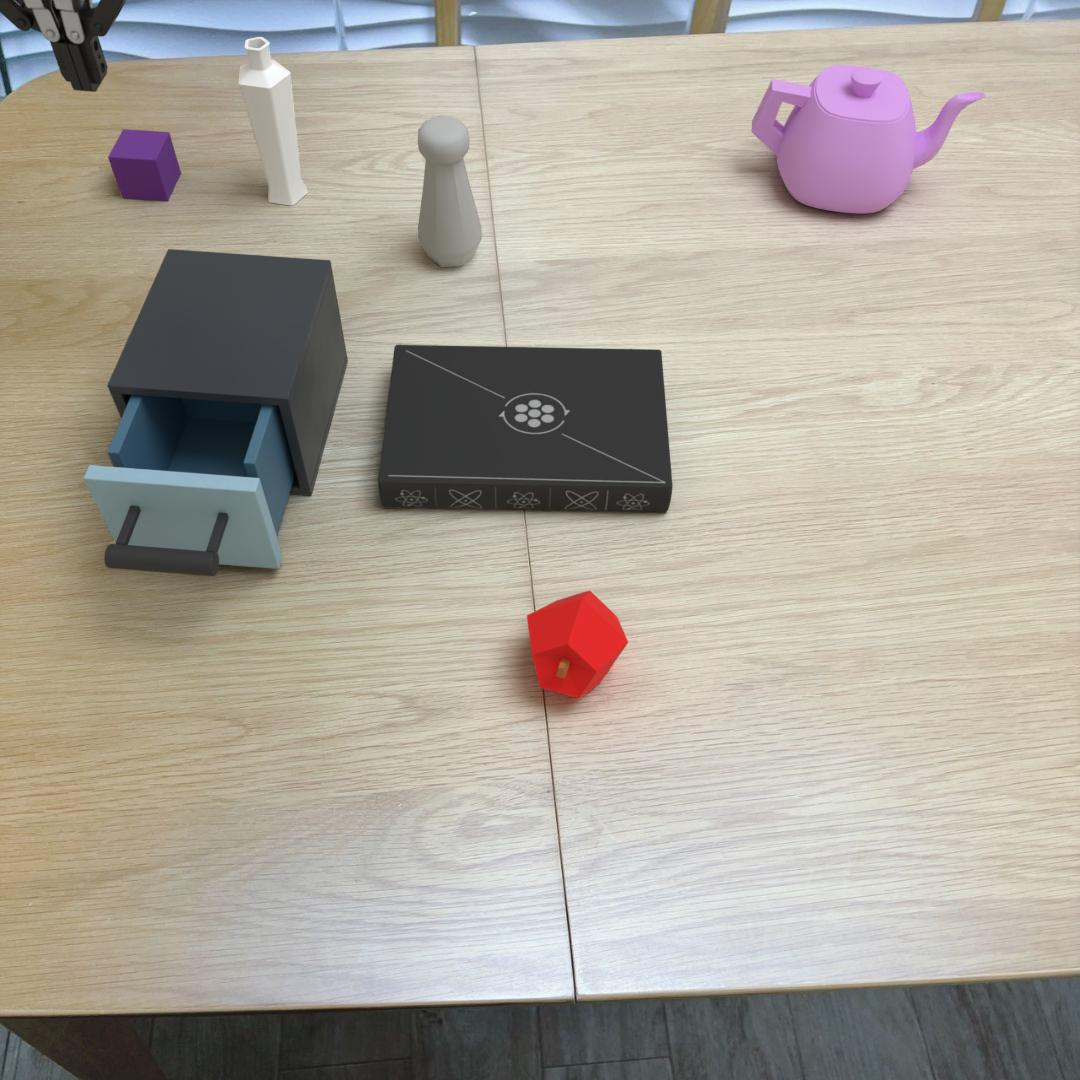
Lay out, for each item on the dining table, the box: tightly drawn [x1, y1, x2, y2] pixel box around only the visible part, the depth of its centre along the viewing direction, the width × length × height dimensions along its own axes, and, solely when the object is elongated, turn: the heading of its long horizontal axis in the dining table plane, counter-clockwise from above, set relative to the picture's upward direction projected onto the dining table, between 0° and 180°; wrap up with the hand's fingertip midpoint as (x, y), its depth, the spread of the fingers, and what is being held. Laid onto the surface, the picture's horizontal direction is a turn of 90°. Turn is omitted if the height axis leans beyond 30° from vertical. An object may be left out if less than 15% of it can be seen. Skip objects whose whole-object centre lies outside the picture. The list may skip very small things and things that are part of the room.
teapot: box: [750, 64, 987, 215], centre depth 103 cm, size 13×20×11 cm
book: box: [377, 344, 674, 513], centre depth 85 cm, size 22×15×3 cm
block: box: [107, 128, 182, 202], centre depth 104 cm, size 4×4×4 cm
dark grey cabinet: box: [106, 248, 349, 497], centre depth 83 cm, size 15×13×11 cm
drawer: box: [83, 395, 296, 578], centre depth 77 cm, size 18×11×9 cm, turn 175°
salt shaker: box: [417, 115, 483, 268], centre depth 95 cm, size 6×6×13 cm
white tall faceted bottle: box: [237, 36, 309, 206], centre depth 99 cm, size 5×4×15 cm
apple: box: [526, 589, 629, 699], centre depth 72 cm, size 7×7×8 cm
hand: (88, 84), depth 78 cm, fingers closed
